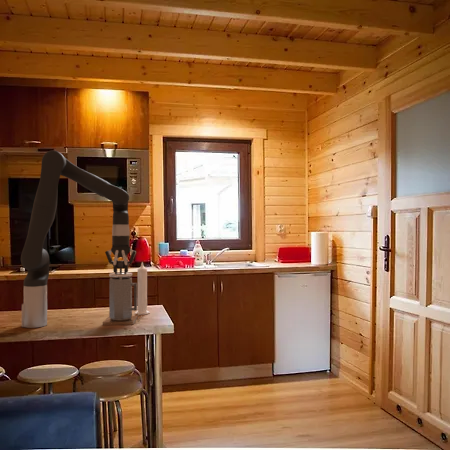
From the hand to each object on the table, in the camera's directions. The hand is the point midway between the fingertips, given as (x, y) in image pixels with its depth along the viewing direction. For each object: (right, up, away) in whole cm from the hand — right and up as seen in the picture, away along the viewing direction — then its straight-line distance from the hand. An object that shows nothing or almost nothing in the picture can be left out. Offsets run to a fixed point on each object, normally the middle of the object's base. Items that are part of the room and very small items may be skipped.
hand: (120, 273), depth 194 cm
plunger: (0, -18, 0) cm, 18 cm away
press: (0, -21, 0) cm, 21 cm away
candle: (+6, -22, +18) cm, 29 cm away
